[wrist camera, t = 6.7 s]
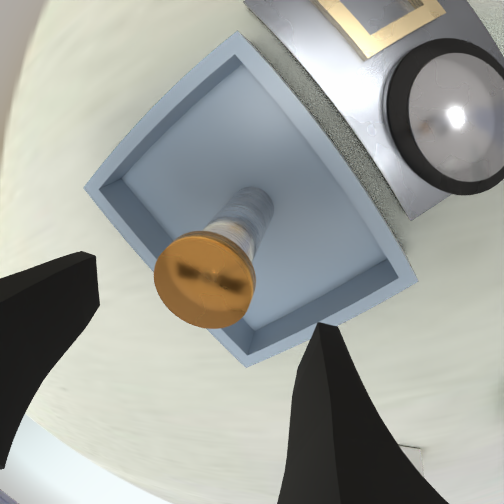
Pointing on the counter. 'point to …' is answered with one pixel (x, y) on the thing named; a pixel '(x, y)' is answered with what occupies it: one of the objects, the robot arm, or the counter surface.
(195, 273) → the lock pin
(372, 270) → the tray
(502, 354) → the counter surface
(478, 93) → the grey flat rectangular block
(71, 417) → the counter surface
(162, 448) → the counter surface
